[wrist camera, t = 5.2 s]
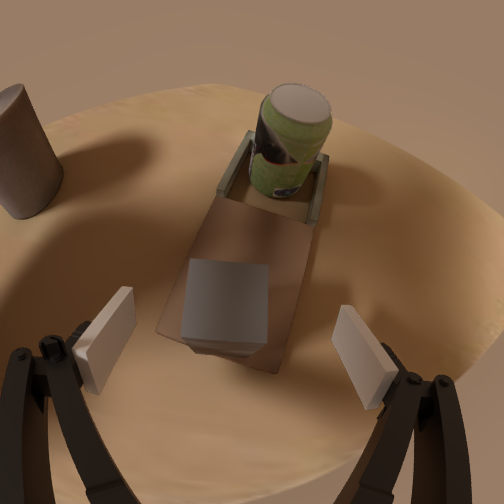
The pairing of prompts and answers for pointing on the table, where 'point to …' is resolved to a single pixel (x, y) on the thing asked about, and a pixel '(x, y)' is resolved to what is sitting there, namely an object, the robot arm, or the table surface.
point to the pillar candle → (25, 157)
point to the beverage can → (288, 138)
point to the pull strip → (252, 248)
